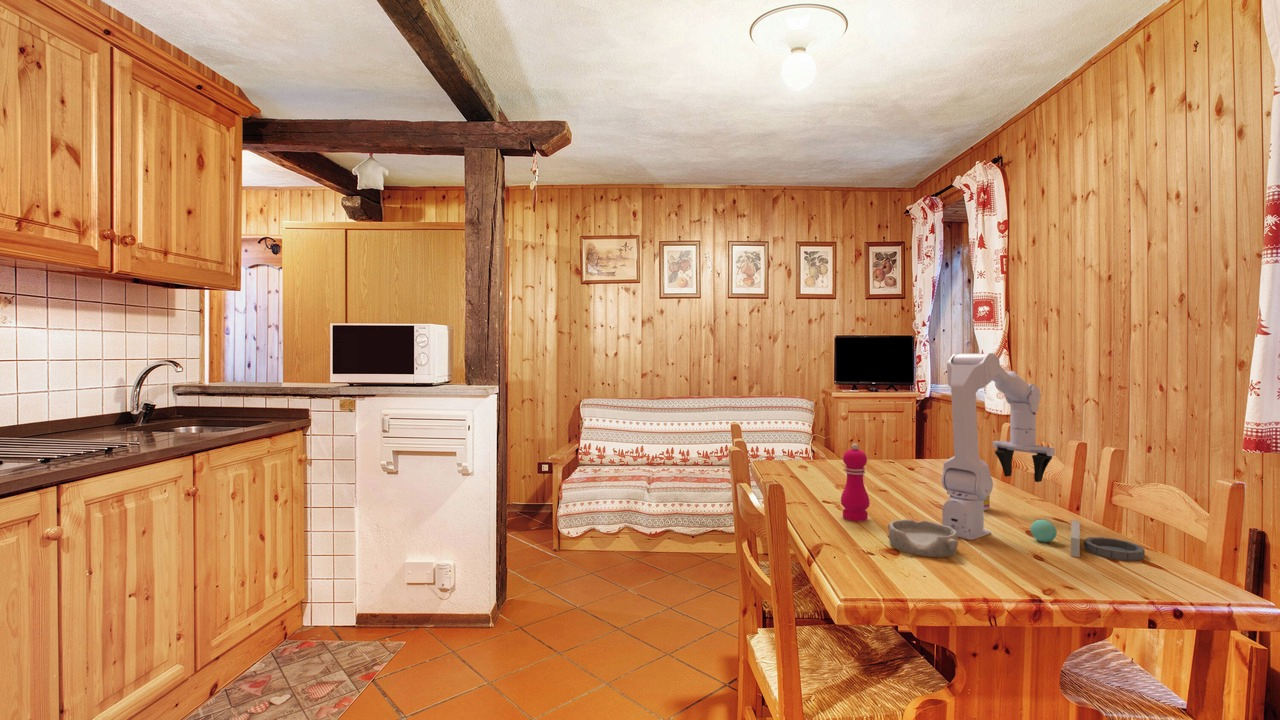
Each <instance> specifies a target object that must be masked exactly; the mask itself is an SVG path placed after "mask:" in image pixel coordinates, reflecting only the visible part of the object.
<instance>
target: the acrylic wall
mask: <svg viewBox="0 0 1280 720" xmlns="http://www.w3.org/2000/svg"><path fill="white" fill-rule="evenodd" d="M1080 528H1081V527H1080V520H1075V519H1072V520H1071V527H1070V556H1071V557H1075V558H1080V555H1081V554H1080V551H1081V550H1080V547H1081V546H1080V543H1081V542H1080V540H1081V539H1080V536H1081V534H1080Z"/></svg>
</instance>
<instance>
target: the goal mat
mask: <svg viewBox="0 0 1280 720" xmlns="http://www.w3.org/2000/svg"><path fill="white" fill-rule="evenodd" d="M1083 547H1084V551H1086V552H1088V553H1090V554H1093V555H1095V556H1099V557H1102V558H1106V559H1110V560H1116V561H1125V562H1138V561H1139V562H1140V561H1142V560H1144V557H1146V555H1145V548H1144V547H1142V546H1141V545H1139V544H1137V543H1134V542H1131V541H1127V540H1123V539H1119V538H1114V537H1113V538H1112V537H1102V536H1096V537H1095V536H1093V537H1092V536H1091V537H1090V536H1088V537H1086V538H1084V539H1083Z"/></svg>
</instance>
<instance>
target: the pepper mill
mask: <svg viewBox="0 0 1280 720" xmlns="http://www.w3.org/2000/svg"><path fill="white" fill-rule="evenodd" d="M842 460H843V461H842V462H843V463H844V465H845V467H844V470H845V471H844V472H845V474H846V482H845V486H844V489H843V491H842V493H841V497H840V504H841V505H842V507H843V508H844V509H843V510H842V518H843V519H844V520H847V521H851V522H864V521H867V520H868V518H869V517H868V516H869V515H868V513H869V512H867V511H866V510H868V508H869V507H870V498H869V494H868V492H867V490H866V487H865V484H864V482H865V481H864V474H866V472H865V471H866V468H865V466H866V465H867V462H868V456H867V454H866V453H865V452H864V451H863V450H861V449H859V445H858V443H852V444H851V449H848V450H846V451H845V452H844V454H843V456H842Z"/></svg>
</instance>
